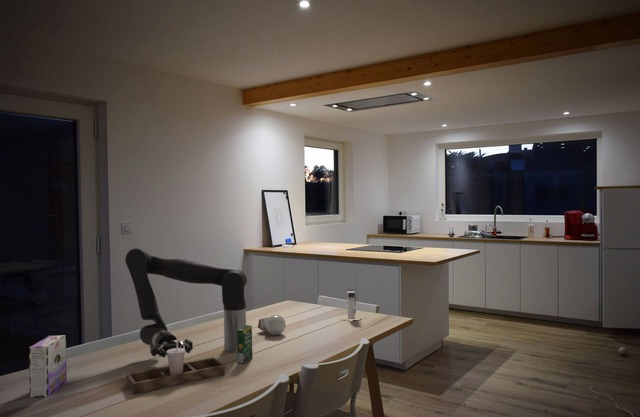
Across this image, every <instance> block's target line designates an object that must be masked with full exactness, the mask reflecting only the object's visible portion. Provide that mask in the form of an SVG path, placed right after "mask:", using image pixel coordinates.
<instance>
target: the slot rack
mask: <svg viewBox="0 0 640 417" xmlns="http://www.w3.org/2000/svg"><path fill="white" fill-rule="evenodd" d="M225 367H226V366H225V364H224V363H222V362H221V361H219V360H218V359H216V358H215V357H209V358H205V359H198V360H193V361H189V362H184V363H183V373H179V374H174V375H170V369H169V365H168V366H163V367H158V368H152V369H145V370H141V371H137V372H136V371H135V372H129V373H126V378H125V379H126V386H127V387H128V389H129V391H130V392H131V393H132V395H134V396H135V395H139V394H143V393H144V394H145V393H148V392H152V391H156V390H162V389H167V388H171V387H176V386H180V385H181V386H182V385H184V384H190V383H194V382H199V381H204V380H208V379H213V378H217V377H222V376H225V375H226V369H225Z"/></svg>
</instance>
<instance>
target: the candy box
mask: <svg viewBox="0 0 640 417" xmlns="http://www.w3.org/2000/svg"><path fill="white" fill-rule="evenodd" d="M66 341H67V339H66V335H65V334H64V335H62V334H61V335H59V334H58V335H48V336H47V337H45V338H43V339H42V340H40V341H38V342H36V343H35V344H33V345H31V346H29V347H28V352H29V353H28V354H29V355H28V357H29V366H28V367H29V370H28V371H29V398H48V397H49V396H51V395H52V394H53V393H54V392H55V391H57V390H58V389H59V388H61V387H62V385H64V384H65V383H66V382H67V378H68V376H67V342H66Z"/></svg>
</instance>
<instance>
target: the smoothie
mask: <svg viewBox="0 0 640 417" xmlns="http://www.w3.org/2000/svg"><path fill="white" fill-rule="evenodd" d="M178 341H179V338H178V337H176V346H177V348H173V349H170V350H168V351H167V355H166V356H167V361H168V366H169V369H170V375H174V374H179V373H183V363H185V362H184V361H185V353H186V351H185V349H184V348H185V347H184V348H178Z"/></svg>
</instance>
